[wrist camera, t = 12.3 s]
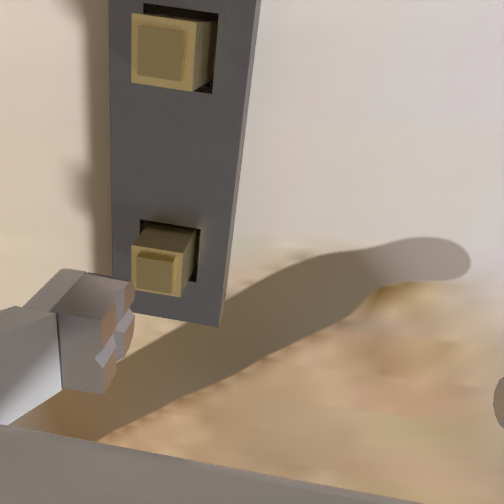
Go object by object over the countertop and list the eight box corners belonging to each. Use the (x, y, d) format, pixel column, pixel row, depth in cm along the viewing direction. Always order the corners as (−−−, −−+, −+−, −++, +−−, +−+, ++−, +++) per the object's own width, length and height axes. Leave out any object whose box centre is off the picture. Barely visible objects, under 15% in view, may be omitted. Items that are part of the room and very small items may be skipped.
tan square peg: (217, 22, 34) (194, 22, 27) (212, 79, 36) (189, 93, 29) (164, 14, 34) (128, 12, 27) (162, 71, 36) (128, 83, 29)
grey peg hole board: (267, -53, 31) (263, -60, 29) (223, 309, 45) (218, 327, 42) (124, -73, 32) (107, -81, 29) (124, 292, 46) (113, 308, 43)
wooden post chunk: (202, 218, 41) (180, 256, 34) (199, 257, 43) (178, 301, 36) (158, 211, 41) (128, 248, 34) (157, 250, 43) (128, 293, 36)
